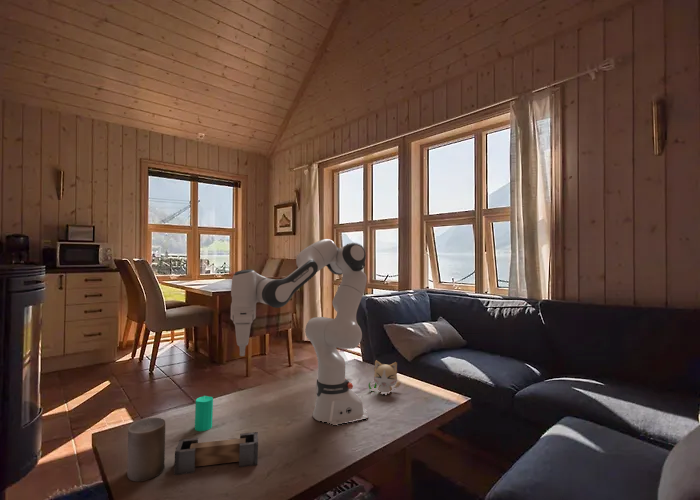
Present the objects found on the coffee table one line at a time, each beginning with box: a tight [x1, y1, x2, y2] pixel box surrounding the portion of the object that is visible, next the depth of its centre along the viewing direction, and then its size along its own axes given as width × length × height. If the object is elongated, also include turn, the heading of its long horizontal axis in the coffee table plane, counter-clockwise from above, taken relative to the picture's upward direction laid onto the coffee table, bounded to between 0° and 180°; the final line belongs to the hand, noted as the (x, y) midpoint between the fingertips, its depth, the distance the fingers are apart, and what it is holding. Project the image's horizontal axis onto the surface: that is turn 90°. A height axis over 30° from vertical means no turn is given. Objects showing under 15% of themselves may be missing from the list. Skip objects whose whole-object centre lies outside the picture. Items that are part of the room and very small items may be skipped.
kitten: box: [368, 359, 402, 392], centre depth 172 cm, size 15×10×15 cm
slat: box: [190, 438, 246, 468], centre depth 112 cm, size 16×3×6 cm, turn 106°
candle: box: [194, 394, 214, 432], centre depth 134 cm, size 6×6×12 cm
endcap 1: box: [173, 437, 199, 476], centre depth 109 cm, size 5×7×6 cm
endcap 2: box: [238, 431, 259, 468], centre depth 114 cm, size 5×7×6 cm
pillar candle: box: [126, 417, 166, 482], centre depth 106 cm, size 10×10×15 cm
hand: (242, 351), depth 132 cm, fingers open, 8 cm apart
